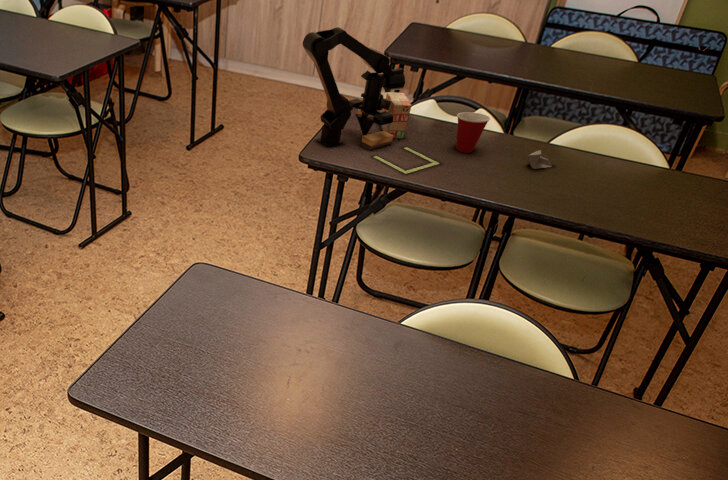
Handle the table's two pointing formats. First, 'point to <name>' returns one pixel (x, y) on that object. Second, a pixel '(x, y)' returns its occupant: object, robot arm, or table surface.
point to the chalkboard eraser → (376, 140)
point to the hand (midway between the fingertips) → (364, 135)
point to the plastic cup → (469, 130)
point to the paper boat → (539, 160)
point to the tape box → (410, 169)
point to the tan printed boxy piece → (397, 113)
